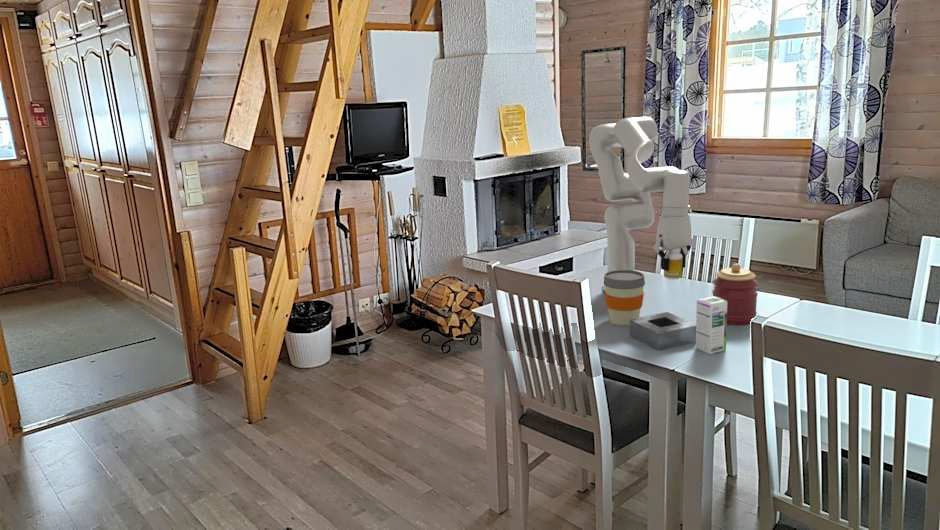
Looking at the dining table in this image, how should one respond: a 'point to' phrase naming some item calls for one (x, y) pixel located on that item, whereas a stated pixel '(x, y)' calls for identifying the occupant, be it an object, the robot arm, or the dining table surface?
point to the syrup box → (711, 324)
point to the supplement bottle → (674, 264)
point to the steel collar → (663, 330)
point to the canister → (737, 293)
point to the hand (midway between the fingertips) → (673, 267)
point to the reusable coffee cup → (623, 295)
